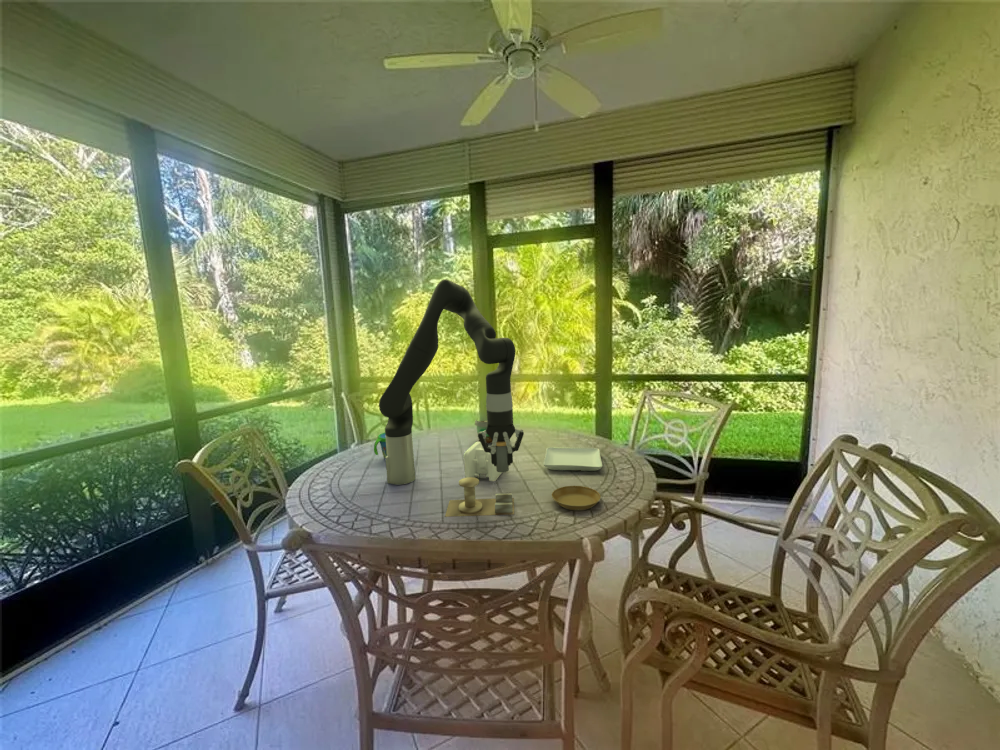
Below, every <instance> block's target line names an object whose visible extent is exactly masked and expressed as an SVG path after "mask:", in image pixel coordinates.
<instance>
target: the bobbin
mask: <svg viewBox="0 0 1000 750" xmlns="http://www.w3.org/2000/svg"><path fill="white" fill-rule="evenodd" d="M479 484H480V479H479V478H478V477H475V478H474V477H468V478H465V477H463V478H461V479H459V480H458V485H459V486H460V487H462V488H463V493H464V495H463V497H464V500H465V502H462V503H461V504H459V511H460V512H462V513H476V512H478V511H480V510H481V509H482V503H481V502H479V501H475V499H476V487H477V486H478V485H479Z"/></svg>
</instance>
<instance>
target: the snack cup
mask: <svg viewBox="0 0 1000 750" xmlns="http://www.w3.org/2000/svg"><path fill="white" fill-rule="evenodd" d="M378 444H380V449H381V453H382V457H383V459H384V460H385V459H386V457H387V448H386V437H385V432H382V433H380V434H378V435H377V439H376V440H375V442H374V445H373V452H374V454H375V456H378V455H379V451H378Z"/></svg>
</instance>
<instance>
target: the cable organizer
mask: <svg viewBox="0 0 1000 750" xmlns="http://www.w3.org/2000/svg"><path fill="white" fill-rule="evenodd" d="M495 452H496V450H495ZM462 458H463V459H464V473H465V475H464V478H468V477H474V478H477V479H479V478H480V475H485V478H488V481H489V482H496V481H497V480H498V478H499V477H500V476H501V474H502V473H503V472H497V470H496V466H494V464H492V462H491V453H489V452H485V451H484V449H483V447H482V444H481V442H479V441H476V442H474V443H473V444H472V445H471V446H470V447H469V448H468V449H467V450H465V452H464V454H463V456H462Z"/></svg>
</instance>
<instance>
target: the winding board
mask: <svg viewBox="0 0 1000 750" xmlns="http://www.w3.org/2000/svg"><path fill="white" fill-rule="evenodd" d="M475 501H479V502H481V503H482V509H481V510H480V511H478V512H476V513H462V512H460V511H459V504H461V503H462V502H465V499H449V502H448V505H447V509H446V511H445V514H444V517H445V518H447V517H449V518H451V517H454V518H455V517H475V516H476V517H479V516H481V517H482V516H503V515H504V516H508V515H510V516H511V515H515V498H514V497H513V493H512V492H511V493H509V492H508V493H495V498H475Z"/></svg>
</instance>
